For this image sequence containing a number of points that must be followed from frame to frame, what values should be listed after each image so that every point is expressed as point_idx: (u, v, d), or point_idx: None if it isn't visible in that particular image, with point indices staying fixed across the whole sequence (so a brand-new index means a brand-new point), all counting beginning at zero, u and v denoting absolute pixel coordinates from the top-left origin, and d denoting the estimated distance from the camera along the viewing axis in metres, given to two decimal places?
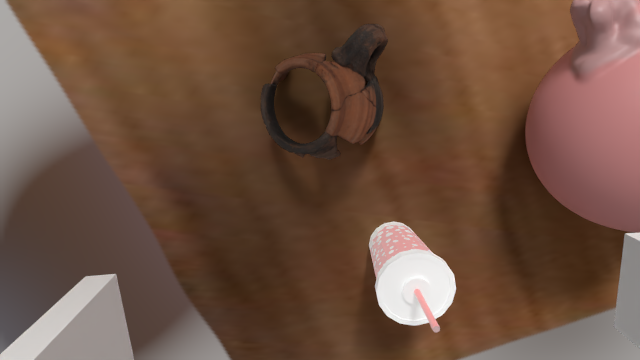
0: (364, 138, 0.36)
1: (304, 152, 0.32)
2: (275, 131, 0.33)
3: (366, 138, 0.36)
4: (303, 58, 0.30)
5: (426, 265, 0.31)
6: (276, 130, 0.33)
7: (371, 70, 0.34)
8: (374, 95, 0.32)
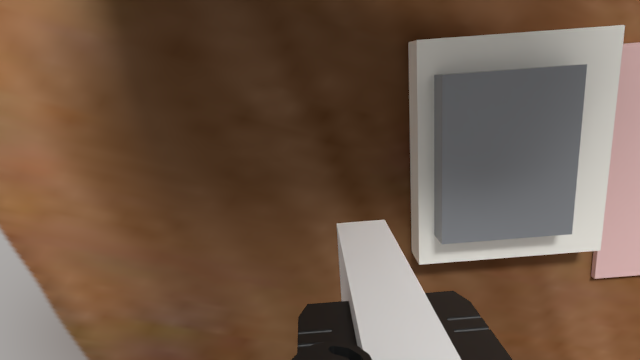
0: None
1: None
2: None
3: None
4: None
5: None
6: None
7: None
8: None
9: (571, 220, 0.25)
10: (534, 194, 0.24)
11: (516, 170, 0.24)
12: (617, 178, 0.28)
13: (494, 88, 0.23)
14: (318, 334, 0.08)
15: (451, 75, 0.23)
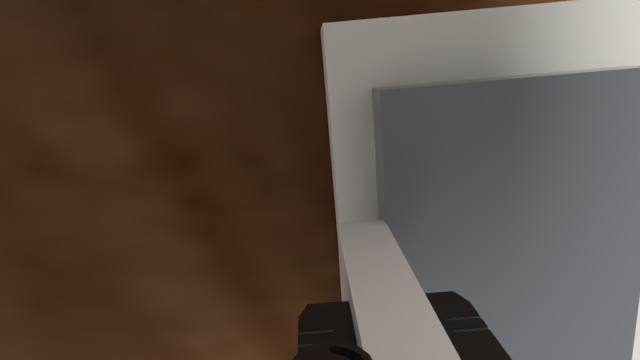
0: None
1: None
2: None
3: None
4: None
5: None
6: None
7: None
8: None
9: (630, 348, 0.14)
10: (562, 306, 0.13)
11: (528, 266, 0.13)
12: None
13: (484, 114, 0.12)
14: (318, 334, 0.08)
15: (398, 90, 0.11)
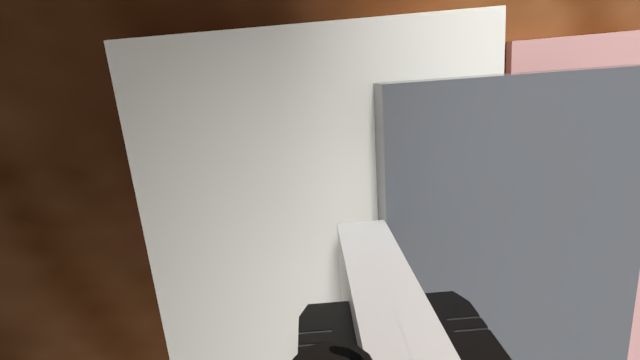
0: None
1: None
2: None
3: None
4: None
5: None
6: None
7: None
8: None
9: (625, 345, 0.14)
10: (560, 303, 0.13)
11: (527, 262, 0.13)
12: None
13: (486, 110, 0.12)
14: (318, 334, 0.08)
15: (400, 85, 0.11)
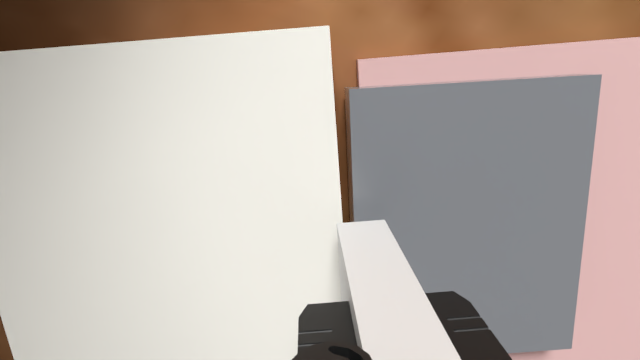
0: None
1: None
2: None
3: None
4: None
5: None
6: None
7: None
8: None
9: (571, 327, 0.15)
10: (510, 287, 0.15)
11: (480, 250, 0.14)
12: None
13: (441, 113, 0.13)
14: (318, 334, 0.08)
15: (365, 90, 0.13)
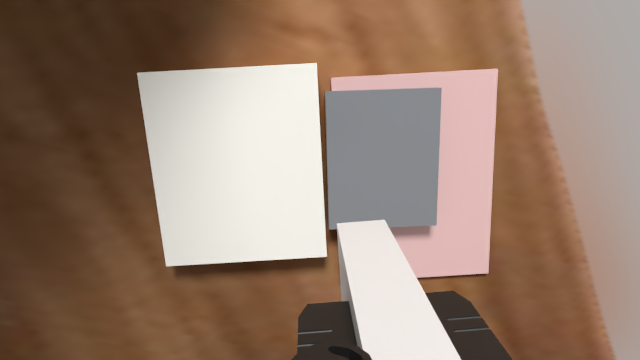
0: None
1: None
2: None
3: None
4: None
5: None
6: None
7: None
8: None
9: (436, 214, 0.31)
10: (403, 191, 0.30)
11: (388, 171, 0.30)
12: None
13: (367, 103, 0.29)
14: (318, 334, 0.08)
15: (332, 92, 0.28)
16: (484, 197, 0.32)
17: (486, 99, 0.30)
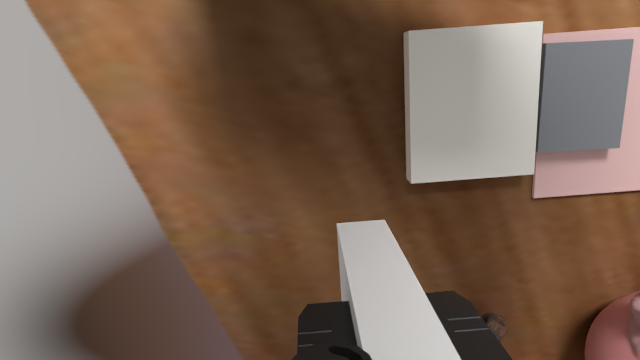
0: None
1: None
2: None
3: None
4: None
5: None
6: None
7: None
8: None
9: (619, 139, 0.40)
10: (597, 120, 0.39)
11: (587, 105, 0.39)
12: None
13: (577, 52, 0.38)
14: (318, 334, 0.08)
15: (552, 43, 0.37)
16: None
17: None
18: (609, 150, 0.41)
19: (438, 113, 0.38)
